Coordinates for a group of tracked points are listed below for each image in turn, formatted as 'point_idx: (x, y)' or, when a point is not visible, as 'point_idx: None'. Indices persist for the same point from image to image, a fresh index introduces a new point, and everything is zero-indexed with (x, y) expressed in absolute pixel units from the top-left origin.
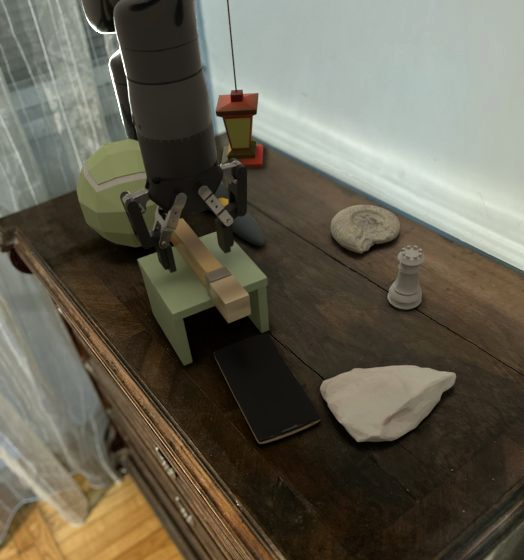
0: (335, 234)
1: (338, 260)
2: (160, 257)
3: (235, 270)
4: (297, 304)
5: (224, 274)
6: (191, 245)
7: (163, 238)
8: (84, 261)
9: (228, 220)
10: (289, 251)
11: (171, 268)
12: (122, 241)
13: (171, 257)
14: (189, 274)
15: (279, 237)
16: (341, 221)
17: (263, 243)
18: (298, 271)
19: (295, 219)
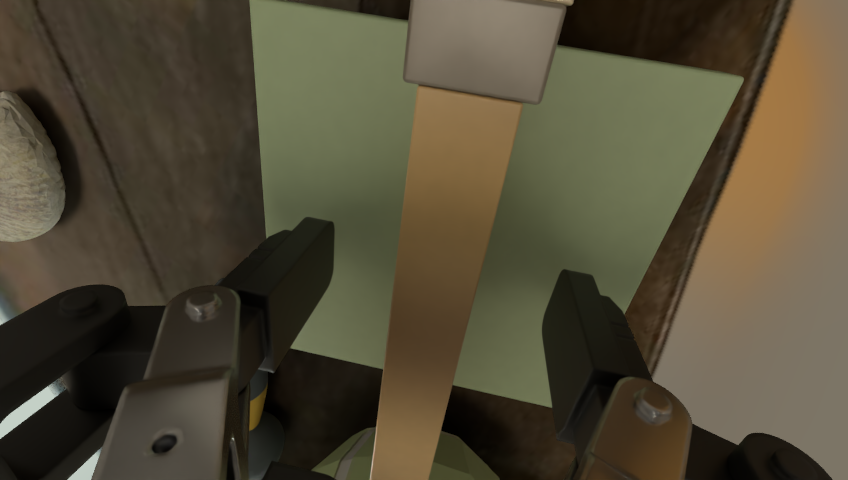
0: (46, 184)
1: (88, 125)
2: (637, 353)
3: (343, 141)
4: (244, 57)
5: (453, 4)
6: (441, 330)
7: (662, 441)
8: (546, 465)
9: (199, 308)
10: (184, 230)
11: (592, 284)
12: (481, 465)
13: (592, 320)
14: (499, 244)
15: (187, 278)
16: (7, 203)
17: (222, 279)
18: (192, 161)
19: (135, 298)
